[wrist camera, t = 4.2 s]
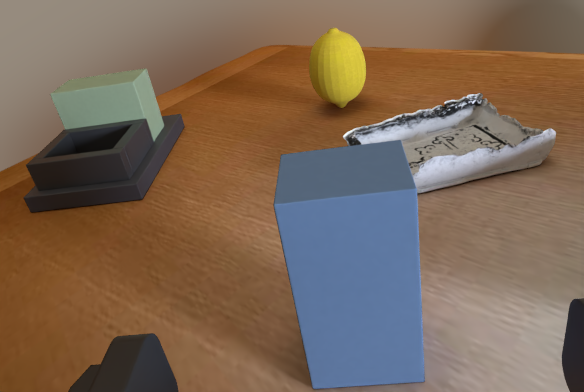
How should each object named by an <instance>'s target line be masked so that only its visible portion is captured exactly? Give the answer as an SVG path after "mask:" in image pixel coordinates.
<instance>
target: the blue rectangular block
mask: <svg viewBox="0 0 584 392" xmlns="http://www.w3.org/2000/svg"><path fill="white" fill-rule="evenodd" d="M274 210H275V215H276V219H277V224H278V229H279V233H280V238H281V243H282V247H283V252H284V257H285V261H286V266H287V271H288V275H289V280H290V285H291V289H292V294H293V299H294V303H295V308H296V313H297V317H298V322H299V327H300V331H301V336H302V341H303V346H304V350H305V355H306V360H307V364H308V369H309V374H310V378H311V383H312V388H313V389H321V388H336V387H351V386H366V385H382V384H397V383H412V382H424V381H425V377H424V353H423V328H422V303H421V278H420V253H419V229H418V204H417V188H416V185H415V182H414V179H413V176H412V173H411V169H410V166H409V163H408V160H407V157H406V154H405V151H404V148H403V145H402V142H401V140H394V141H386V142H378V143H370V144H362V145H354V146H346V147H338V148H330V149H322V150H314V151H306V152H298V153H290V154H282V155H281V158H280V165H279V172H278V179H277V185H276V192H275V199H274Z"/></svg>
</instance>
